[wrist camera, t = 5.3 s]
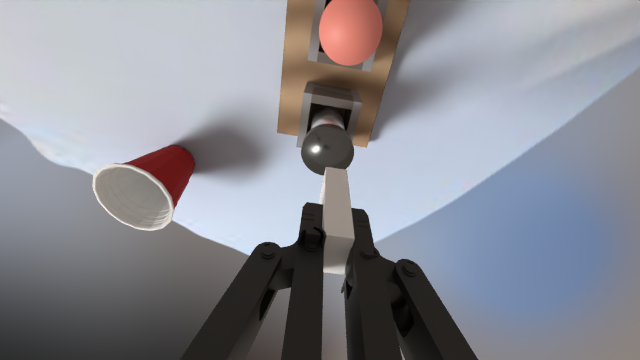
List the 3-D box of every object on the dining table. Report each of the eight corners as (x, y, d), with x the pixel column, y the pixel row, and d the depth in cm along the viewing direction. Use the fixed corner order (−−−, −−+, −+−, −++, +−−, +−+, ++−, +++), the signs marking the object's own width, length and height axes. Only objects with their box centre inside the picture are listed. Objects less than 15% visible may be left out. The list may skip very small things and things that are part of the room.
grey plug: (310, 141, 34) (305, 177, 26) (304, 103, 31) (297, 131, 24) (349, 137, 34) (355, 173, 26) (346, 98, 31) (352, 125, 23)
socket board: (365, 142, 41) (372, 166, 34) (279, 127, 40) (269, 149, 33) (445, -136, 25) (489, -195, 18) (304, -171, 24) (294, -247, 17)
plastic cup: (157, 116, 39) (97, 149, 29) (219, 155, 43) (185, 197, 33) (136, 163, 44) (78, 205, 34) (193, 195, 47) (157, 242, 37)
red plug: (324, 56, 30) (322, 69, 22) (318, 3, 27) (315, -3, 19) (368, 50, 29) (382, 61, 22) (367, -4, 27) (382, -14, 19)
